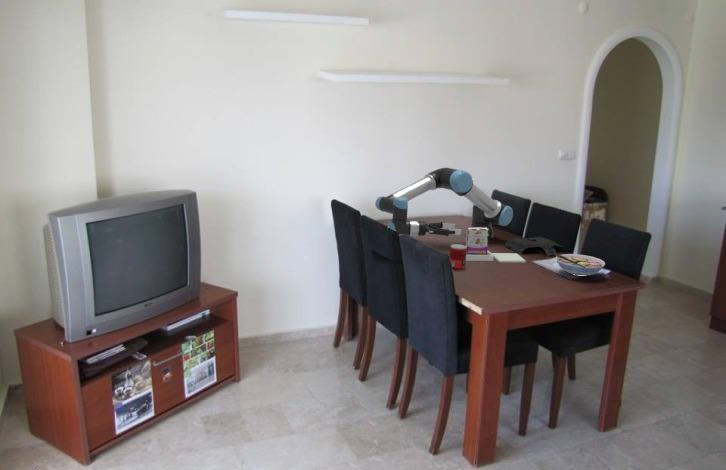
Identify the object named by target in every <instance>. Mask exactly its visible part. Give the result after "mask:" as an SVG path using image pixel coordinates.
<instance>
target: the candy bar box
mask: <svg viewBox="0 0 726 470" xmlns="http://www.w3.org/2000/svg"><path fill="white" fill-rule="evenodd" d="M488 234H489V229H488V228H486V227H471V226H468V227H466V231H465V245H464V246H466V247H467V251H466V255H487V250H489V249H488V247H489V239H488Z"/></svg>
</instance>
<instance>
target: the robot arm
mask: <svg viewBox="0 0 726 470" xmlns="http://www.w3.org/2000/svg"><path fill="white" fill-rule="evenodd" d="M436 189H445V190H448V191H452V192H453V193H454V194H456V195H457V196H459V197H464V198H466V200H469V201H470V202H471V203H472V204H473V205H472V214H471V215H472V218H471V224H470V227H486V228H488V229H489V234H488V240H491V239H493V238H494V232H493V227H492V224H495V225H499V226H503V227H504V226H508V225H509V224H510V223H511V221H512V220H513V217H514V211H513V208H512V207H511V206H509V205H505V204H504V203H502V202H501V201H499V200H497V199H493V198H492V197H490V196H489V195H488V194H487V193H485V191H483V190H482V189H481V188H479V187H478V186H477V185H476V184H475V183H474V180H473V177H472V174H471V173H470V172H468V171H466V170H465V169H456V168H452V167H451V168H450V167H442V168H441V167H440V168H437V169H435V170H433V171H431V172H429V173H427V174H425V175H424V176H423V178H420V179H419V180H417V181H415V182H413V183H411V184H409V185H407V186H405V187H403V188H401V189H399V190H397V191H395V192H393V193H391V194H389V195H386V196H379V197H377V198H376V201H375V204H374V205H375V208H376V209H377V210H379V211H380V212H384V213H386V214H387V213H388V214H390V215H392V219H391V220H388V221H387V222H388V223H387V229H388V228H390V229H392V230H394V231H397V232H398V233H399V234H405V235H404V236H410V237H413V236H418V237H420V236H421V237H423V236H424V237H425V235H426V234H427V233H428V234H429V235H436V236H437V235H438V236H444V237H445V236H446V237H449V236H451V235H453V236H461V235H462V229H457V228H456V223H443V221H440V222H432V223H431V222H430V223H426V221H424V220H422V221H420V220H419V221H417V220H408V209H409V206H408V205H409V201H411V200H413V199H415V198H416V197H417V198H418V197H419V196H421V195H424V193H427V192H428V191H434V190H436Z"/></svg>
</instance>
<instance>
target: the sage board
mask: <svg viewBox="0 0 726 470" xmlns="http://www.w3.org/2000/svg"><path fill="white" fill-rule="evenodd" d="M491 253H492V254H493V255H494V258H493V259H495V260H496V261H497V262H498V263H519V264H520V263H526V259H524V258H523V257H522V256H521V255H520V254H519V253H518V252H515V253H513V252H512V253H511V252H510V253H509V252H505V253H504V252H503V253H501V252H497V253H496V252H494V253H493V252H491Z"/></svg>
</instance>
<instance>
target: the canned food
mask: <svg viewBox="0 0 726 470" xmlns="http://www.w3.org/2000/svg"><path fill="white" fill-rule="evenodd" d="M449 250H450V251H449V259H450V258H451V262H452V266H453V269H452V270H464V269H465V268H466V263H467V261H466V251H467V247H466V246H465V245H463V244H460V243H459V244H456V243H455V244H450V248H449Z"/></svg>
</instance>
